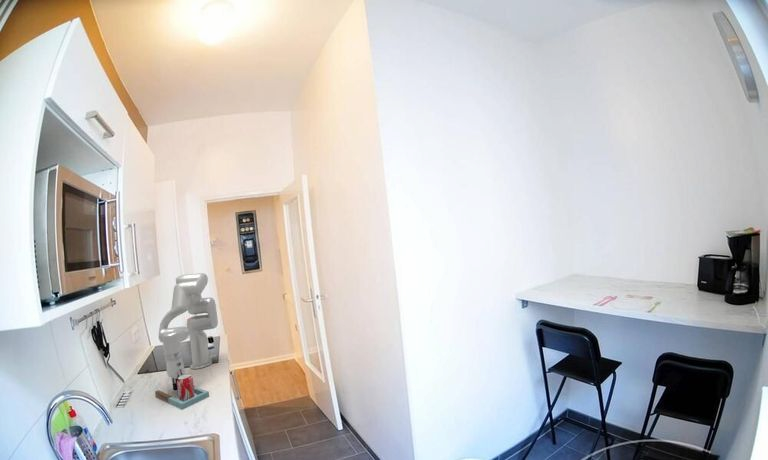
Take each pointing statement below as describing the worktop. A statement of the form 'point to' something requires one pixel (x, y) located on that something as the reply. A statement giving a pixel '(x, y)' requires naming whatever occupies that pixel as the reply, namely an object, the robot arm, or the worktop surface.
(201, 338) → the robot arm
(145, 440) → the worktop surface
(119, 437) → the worktop surface
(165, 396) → the channel
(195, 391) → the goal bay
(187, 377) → the soda can
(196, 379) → the worktop surface
